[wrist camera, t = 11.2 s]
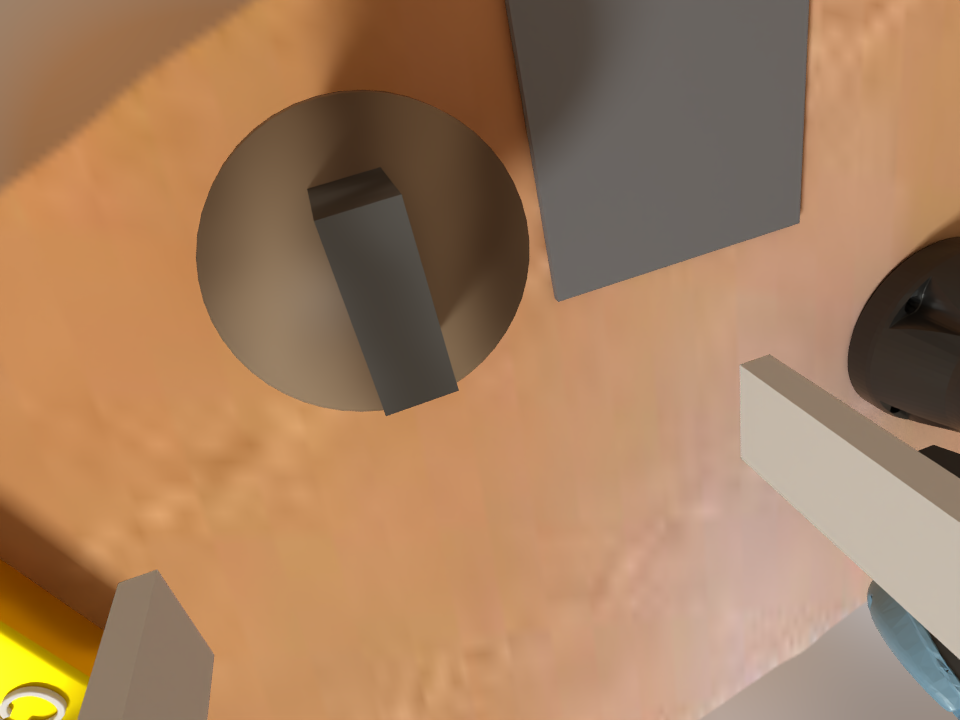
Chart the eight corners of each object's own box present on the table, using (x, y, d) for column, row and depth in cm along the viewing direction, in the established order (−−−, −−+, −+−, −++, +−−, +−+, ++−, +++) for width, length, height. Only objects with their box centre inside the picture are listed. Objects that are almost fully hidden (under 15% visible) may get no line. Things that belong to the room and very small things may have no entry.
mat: (805, -87, 36) (812, -89, 35) (793, 220, 45) (799, 222, 44) (503, -12, 33) (506, -12, 33) (554, 298, 42) (558, 301, 42)
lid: (484, 48, 26) (538, 53, 20) (544, 344, 33) (596, 404, 27) (134, 146, 24) (93, 179, 19) (276, 437, 31) (276, 521, 26)
